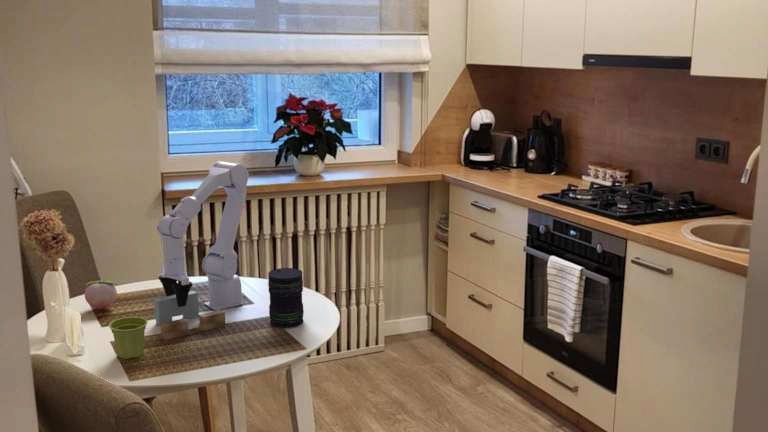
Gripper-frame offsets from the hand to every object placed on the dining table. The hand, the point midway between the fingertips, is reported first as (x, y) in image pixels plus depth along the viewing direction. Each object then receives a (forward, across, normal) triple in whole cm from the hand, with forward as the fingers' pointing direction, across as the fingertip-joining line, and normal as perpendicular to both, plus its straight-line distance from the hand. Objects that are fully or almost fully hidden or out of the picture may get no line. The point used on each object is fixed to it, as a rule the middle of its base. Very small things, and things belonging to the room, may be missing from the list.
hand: (176, 302), depth 222 cm
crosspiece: (+5, 0, 0) cm, 5 cm away
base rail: (+5, +11, 0) cm, 12 cm away
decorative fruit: (+6, -23, -14) cm, 27 cm away
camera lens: (+6, +21, +24) cm, 32 cm away
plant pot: (+6, +16, -20) cm, 26 cm away
